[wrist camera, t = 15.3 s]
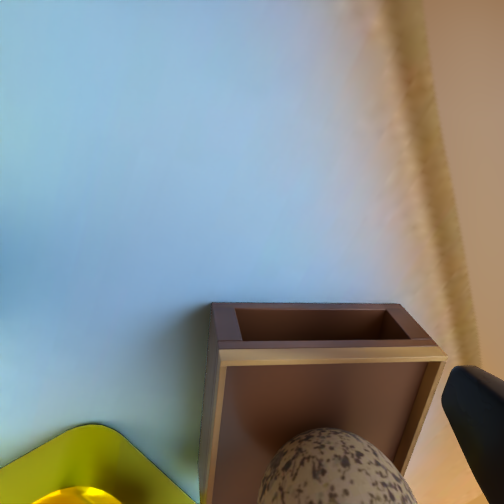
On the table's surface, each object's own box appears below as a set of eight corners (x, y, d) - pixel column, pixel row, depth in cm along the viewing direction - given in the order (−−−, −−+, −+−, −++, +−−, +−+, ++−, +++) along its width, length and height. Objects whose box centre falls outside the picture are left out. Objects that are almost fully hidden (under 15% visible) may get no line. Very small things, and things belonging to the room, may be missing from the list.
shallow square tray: (197, 462, 27) (202, 539, 23) (211, 302, 22) (220, 361, 18) (356, 451, 29) (387, 519, 25) (400, 303, 24) (448, 356, 20)
